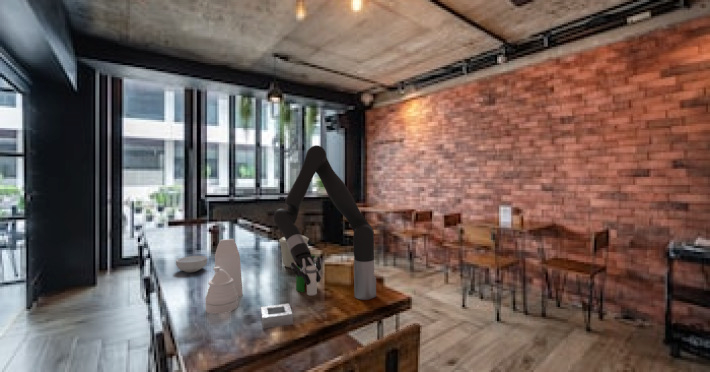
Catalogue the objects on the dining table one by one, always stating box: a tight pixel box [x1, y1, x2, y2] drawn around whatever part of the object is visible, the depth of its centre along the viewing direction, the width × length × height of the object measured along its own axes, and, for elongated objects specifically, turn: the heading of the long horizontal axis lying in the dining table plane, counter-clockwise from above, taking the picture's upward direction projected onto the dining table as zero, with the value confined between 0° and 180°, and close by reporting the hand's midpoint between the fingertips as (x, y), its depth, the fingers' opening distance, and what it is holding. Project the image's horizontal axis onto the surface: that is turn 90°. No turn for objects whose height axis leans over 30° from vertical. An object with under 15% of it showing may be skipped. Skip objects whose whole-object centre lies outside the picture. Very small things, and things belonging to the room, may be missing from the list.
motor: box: [295, 254, 316, 293], centre depth 171 cm, size 10×9×20 cm
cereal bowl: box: [175, 255, 208, 273], centre depth 206 cm, size 17×17×7 cm
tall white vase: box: [214, 238, 244, 297], centre depth 166 cm, size 12×12×26 cm
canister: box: [278, 235, 310, 269], centre depth 213 cm, size 18×18×21 cm
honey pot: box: [204, 266, 239, 315], centre depth 148 cm, size 13×13×18 cm
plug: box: [306, 265, 318, 296], centre depth 140 cm, size 4×4×11 cm
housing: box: [260, 303, 294, 329], centre depth 135 cm, size 11×11×4 cm
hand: (314, 282), depth 138 cm, fingers closed on plug, 4 cm apart
